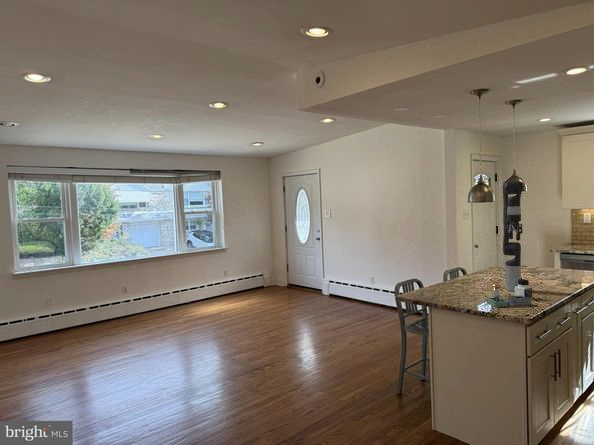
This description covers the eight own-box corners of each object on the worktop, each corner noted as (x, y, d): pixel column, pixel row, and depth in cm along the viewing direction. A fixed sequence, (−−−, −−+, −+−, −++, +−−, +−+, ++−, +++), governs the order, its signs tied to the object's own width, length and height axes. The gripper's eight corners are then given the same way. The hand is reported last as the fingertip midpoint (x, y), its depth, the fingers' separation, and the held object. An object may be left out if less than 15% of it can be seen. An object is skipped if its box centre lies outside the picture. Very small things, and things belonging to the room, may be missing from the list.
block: (508, 302, 253) (508, 295, 253) (522, 301, 253) (522, 295, 252) (515, 306, 244) (515, 299, 244) (531, 305, 244) (531, 298, 243)
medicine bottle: (524, 299, 257) (524, 280, 257) (514, 297, 264) (514, 279, 263) (532, 298, 260) (532, 279, 260) (522, 296, 267) (522, 277, 266)
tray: (486, 302, 254) (486, 297, 254) (499, 302, 254) (499, 297, 254) (495, 307, 242) (495, 302, 242) (509, 307, 242) (509, 302, 242)
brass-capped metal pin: (490, 302, 253) (490, 284, 252) (498, 301, 252) (498, 283, 252) (494, 304, 248) (494, 285, 247) (501, 303, 248) (501, 285, 247)
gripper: (502, 213, 263) (502, 238, 263) (513, 214, 248) (514, 241, 249) (514, 213, 263) (514, 238, 263) (526, 213, 248) (526, 240, 249)
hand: (514, 239), depth 256 cm, fingers open, 8 cm apart
